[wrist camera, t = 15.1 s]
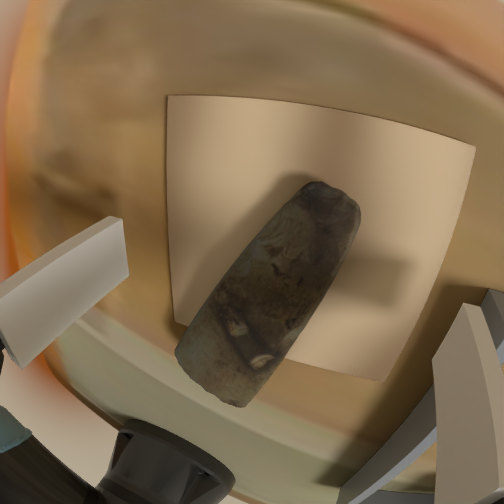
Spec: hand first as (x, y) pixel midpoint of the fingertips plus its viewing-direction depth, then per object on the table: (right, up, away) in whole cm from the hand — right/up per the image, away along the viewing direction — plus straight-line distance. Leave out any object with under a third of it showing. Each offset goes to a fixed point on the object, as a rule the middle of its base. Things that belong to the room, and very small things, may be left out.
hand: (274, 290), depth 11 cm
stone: (+4, -1, +2) cm, 4 cm away
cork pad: (+1, +1, +2) cm, 3 cm away
